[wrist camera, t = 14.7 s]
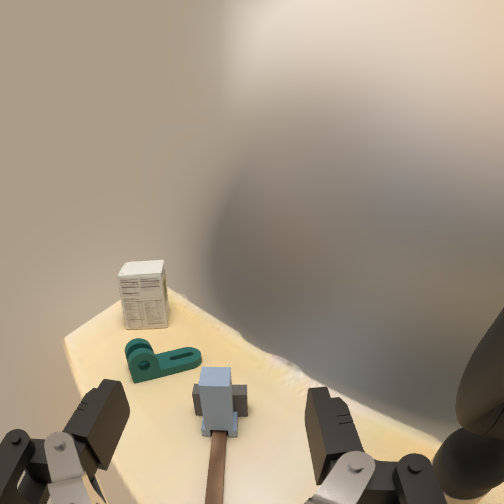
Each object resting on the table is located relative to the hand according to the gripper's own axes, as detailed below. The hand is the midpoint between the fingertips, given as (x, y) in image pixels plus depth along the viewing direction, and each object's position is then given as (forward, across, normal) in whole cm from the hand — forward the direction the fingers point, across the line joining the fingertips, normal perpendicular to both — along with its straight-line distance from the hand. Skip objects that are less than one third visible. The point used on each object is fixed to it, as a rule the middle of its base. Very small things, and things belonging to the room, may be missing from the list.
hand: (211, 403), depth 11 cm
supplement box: (+71, +31, +35) cm, 85 cm away
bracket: (+47, +19, +35) cm, 62 cm away
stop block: (+33, +4, +35) cm, 48 cm away
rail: (+17, +4, +35) cm, 39 cm away
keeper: (+28, +4, +35) cm, 45 cm away
